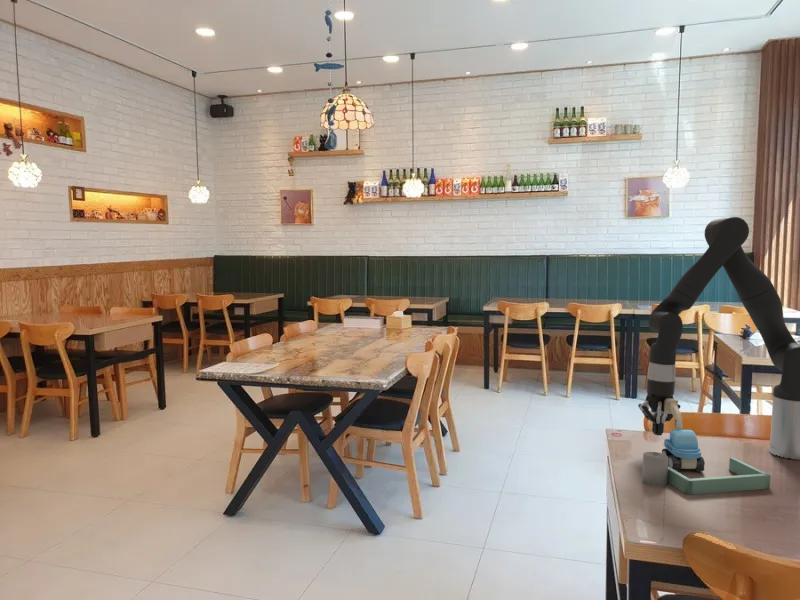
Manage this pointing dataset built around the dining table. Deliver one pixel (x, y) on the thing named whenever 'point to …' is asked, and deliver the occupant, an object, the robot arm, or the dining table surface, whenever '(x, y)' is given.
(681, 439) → the toy excavator
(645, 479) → the grey upright cylinder
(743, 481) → the bay
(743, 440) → the dining table surface
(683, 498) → the dining table surface
